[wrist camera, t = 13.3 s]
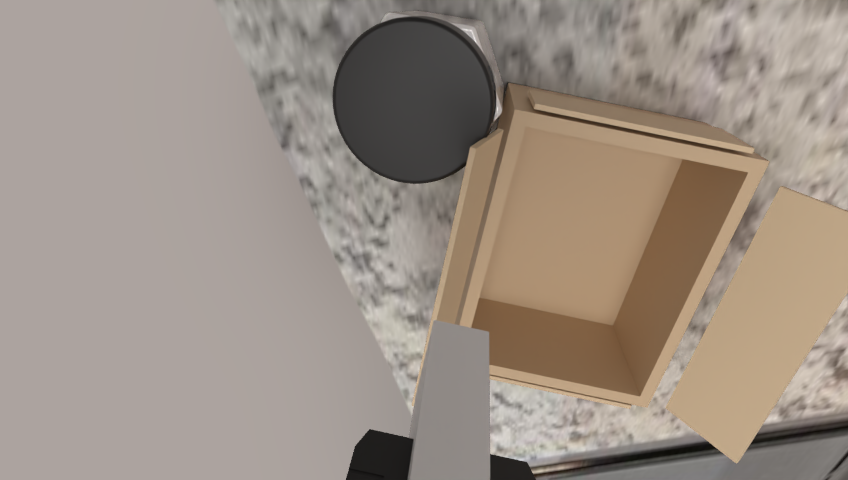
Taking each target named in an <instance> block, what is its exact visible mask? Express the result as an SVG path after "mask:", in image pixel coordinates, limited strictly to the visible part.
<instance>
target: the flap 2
mask: <svg viewBox="0 0 848 480" xmlns="http://www.w3.org/2000/svg"><path fill="white" fill-rule="evenodd" d="M847 293H848V211H847V210H844V209H841V208H839V207H836V206H833V205H831V204H828V203H825V202H823V201H820V200H818V199H815V198H812V197H810V196H807V195H804V194H802V193H799V192H796V191H794V190H791V189H789V188H786V187H783V186H781V187H780V188H779V190H778V192H777V194H776V196H775V198H774V200H773V202H772V204H771V205H770V207H769V209H768V211H767V213H766V215H765V217H764V219H763V221H762V223H761V225H760V227H759V229H758V231H757V232H756V234H755V236H754V238H753V240H752V242H751V244H750V246H749V248H748V250H747V252H746V254H745V256H744V258H743V259H742V261H741V263H740V265H739V267H738V269H737V271H736V273H735V275H734V277H733V279H732V281H731V283H730V284H729V286H728V288H727V290H726V292H725V294H724V296H723V298H722V300H721V302H720V304H719V306H718V308H717V310H716V311H715V313H714V315H713V317H712V319H711V321H710V323H709V325H708V327H707V329H706V331H705V333H704V335H703V336H702V338H701V340H700V342H699V344H698V346H697V348H696V350H695V352H694V354H693V356H692V358H691V360H690V362H689V363H688V365H687V367H686V369H685V371H684V373H683V375H682V377H681V379H680V381H679V383H678V385H677V387H676V389H675V390H674V392H673V394H672V396H671V398H670V400H669V402H668V404H667V406H666V409H667V410H669V411H670V412H671V413H672V414H674V415H675V416H676V417H678V418H679V419H680V420H681V421H683V422H684V423H685V424H687V425H688V426H689V427H690V428H692V429H693V430H694V431H695V432H697V433H698V434H699V435H701V436H702V437H703V438H704V439H706V440H707V441H708V442H710V443H711V444H712V445H713V446H715V447H716V448H717V449H718V450H720V451H721V452H722V453H724V454H725V455H726V456H727V457H729V458H730V459H731V460H733V461H734V462H735V463H738V462H739V461H740V459H741V457H742V456H743V454H744V453H745V451H746V450H747V448H748V447H749V445H750V443H751V442H752V440H753V439H754V437H755V436H756V434H757V433H758V431H759V429H760V428H761V426H762V425H763V423H764V422H765V420H766V419H767V417H768V415H769V414H770V412H771V411H772V409H773V408H774V406H775V405H776V403H777V401H778V400H779V398H780V397H781V395H782V394H783V392H784V391H785V389H786V387H787V386H788V384H789V383H790V381H791V380H792V378H793V377H794V375H795V374H796V372H797V370H798V369H799V367H800V366H801V364H802V363H803V361H804V360H805V358H806V356H807V355H808V353H809V352H810V350H811V349H812V347H813V346H814V344H815V342H816V341H817V339H818V338H819V336H820V335H821V333H822V332H823V330H824V328H825V327H826V325H827V324H828V322H829V321H830V319H831V318H832V316H833V314H834V313H835V311H836V310H837V308H838V307H839V305H840V304H841V302H842V300H843V299H844V297H845V296H846V294H847Z"/></svg>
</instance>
